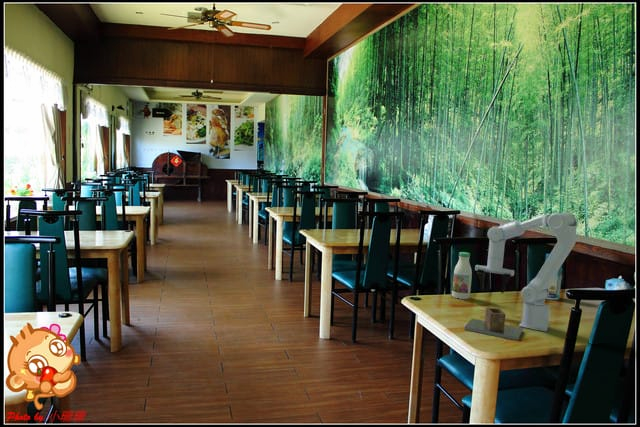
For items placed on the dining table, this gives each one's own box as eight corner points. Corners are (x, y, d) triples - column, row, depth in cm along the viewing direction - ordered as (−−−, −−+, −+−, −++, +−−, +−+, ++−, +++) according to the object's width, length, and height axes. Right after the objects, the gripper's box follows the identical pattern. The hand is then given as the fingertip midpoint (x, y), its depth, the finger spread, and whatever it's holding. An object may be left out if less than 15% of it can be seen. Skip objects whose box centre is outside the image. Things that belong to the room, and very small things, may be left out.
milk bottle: (456, 294, 238) (460, 250, 236) (472, 297, 233) (476, 253, 231) (448, 296, 232) (452, 252, 230) (465, 300, 227) (469, 255, 225)
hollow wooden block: (498, 324, 191) (500, 308, 190) (503, 331, 184) (505, 314, 184) (484, 323, 191) (486, 307, 191) (489, 329, 184) (490, 313, 184)
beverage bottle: (563, 300, 240) (568, 256, 238) (547, 300, 238) (552, 256, 236) (551, 295, 248) (556, 253, 246) (535, 295, 246) (540, 252, 244)
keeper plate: (522, 331, 189) (524, 317, 188) (518, 340, 178) (519, 326, 178) (471, 321, 197) (472, 308, 197) (464, 329, 187) (465, 316, 186)
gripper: (516, 258, 206) (513, 292, 208) (478, 253, 213) (475, 286, 215) (514, 260, 200) (510, 295, 202) (475, 255, 207) (471, 289, 208)
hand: (492, 291), depth 208 cm, fingers open, 7 cm apart
